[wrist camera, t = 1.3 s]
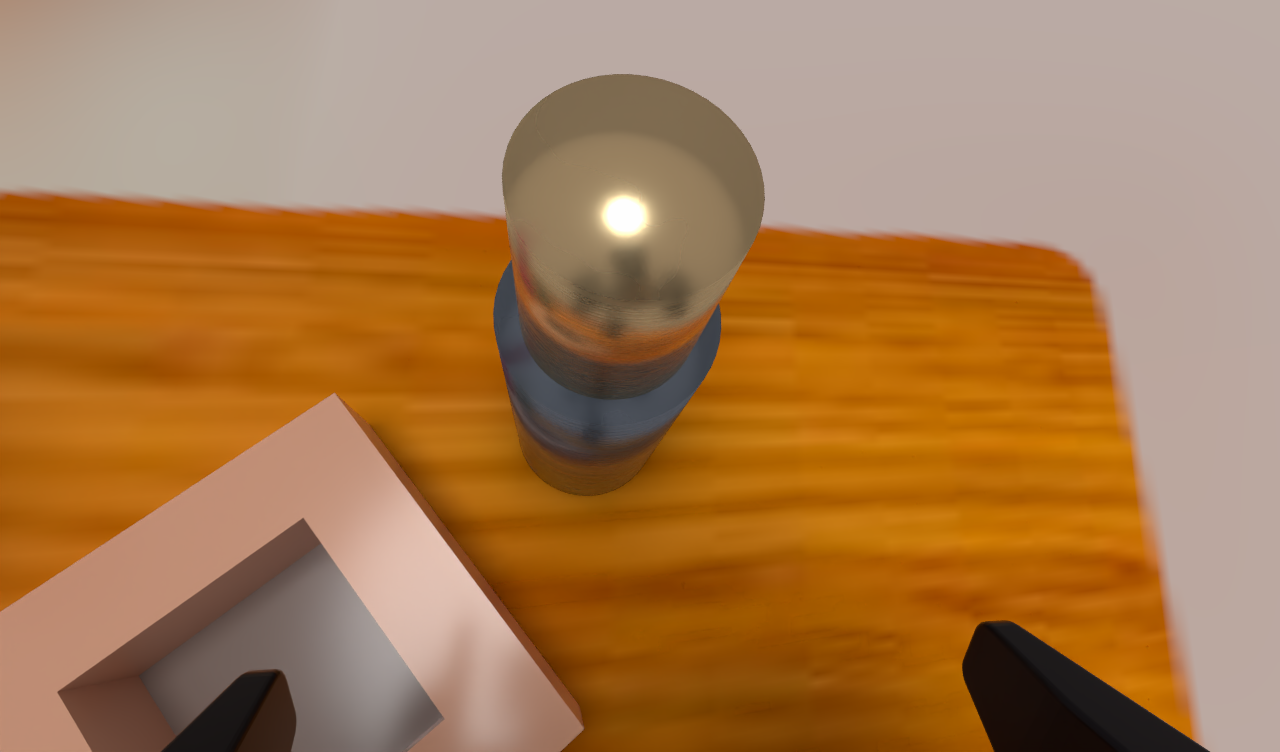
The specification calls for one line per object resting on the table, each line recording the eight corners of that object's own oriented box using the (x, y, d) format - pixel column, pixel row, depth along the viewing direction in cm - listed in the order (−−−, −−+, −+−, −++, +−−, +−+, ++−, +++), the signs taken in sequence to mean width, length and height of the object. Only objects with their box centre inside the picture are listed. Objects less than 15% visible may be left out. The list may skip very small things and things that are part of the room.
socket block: (579, 705, 19) (584, 728, 16) (229, 1031, 16) (145, 1145, 13) (368, 424, 21) (334, 392, 18) (16, 664, 18) (-105, 680, 15)
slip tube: (680, 438, 22) (864, 214, 9) (576, 524, 21) (613, 408, 8) (597, 339, 23) (655, 1, 10) (490, 416, 22) (392, 144, 9)
